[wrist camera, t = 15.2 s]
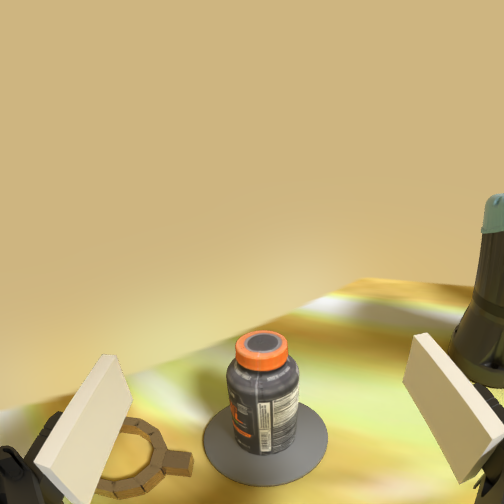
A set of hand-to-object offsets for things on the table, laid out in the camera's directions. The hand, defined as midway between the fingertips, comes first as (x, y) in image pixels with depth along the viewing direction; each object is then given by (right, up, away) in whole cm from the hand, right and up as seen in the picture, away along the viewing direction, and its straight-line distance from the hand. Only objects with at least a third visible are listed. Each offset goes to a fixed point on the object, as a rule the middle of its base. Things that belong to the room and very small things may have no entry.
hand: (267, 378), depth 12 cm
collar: (-13, -15, +10) cm, 22 cm away
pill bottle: (+1, -13, +13) cm, 18 cm away
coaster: (+1, -13, +13) cm, 19 cm away
